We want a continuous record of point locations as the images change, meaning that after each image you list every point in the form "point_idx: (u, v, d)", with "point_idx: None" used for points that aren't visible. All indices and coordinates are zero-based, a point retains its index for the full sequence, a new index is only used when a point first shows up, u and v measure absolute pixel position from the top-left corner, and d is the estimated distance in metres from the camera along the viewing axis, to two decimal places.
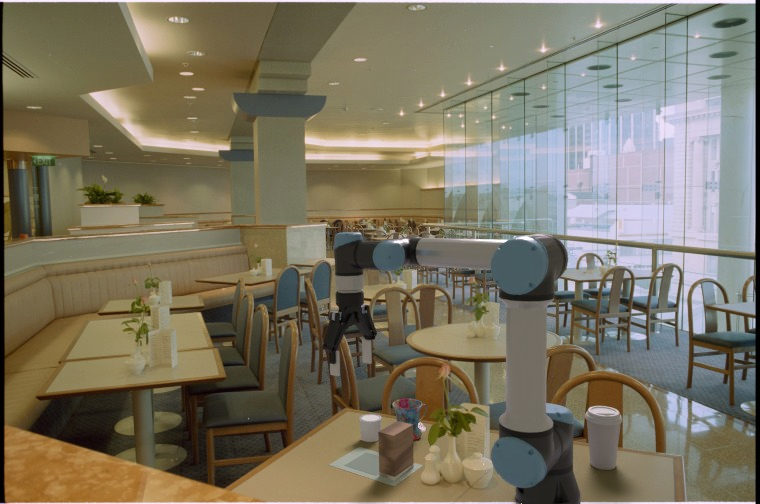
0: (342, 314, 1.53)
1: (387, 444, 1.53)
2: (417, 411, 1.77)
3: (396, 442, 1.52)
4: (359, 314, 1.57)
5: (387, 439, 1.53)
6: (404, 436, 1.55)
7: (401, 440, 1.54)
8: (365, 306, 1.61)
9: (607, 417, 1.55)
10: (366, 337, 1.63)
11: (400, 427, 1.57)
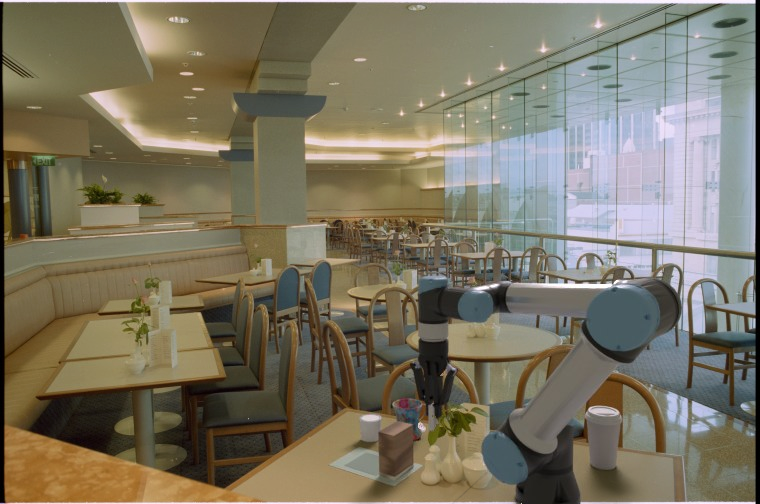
0: (418, 361, 1.49)
1: (387, 444, 1.53)
2: (417, 411, 1.77)
3: (396, 442, 1.52)
4: (434, 366, 1.45)
5: (387, 439, 1.53)
6: (404, 436, 1.55)
7: (401, 440, 1.54)
8: (451, 369, 1.44)
9: (607, 417, 1.55)
10: None
11: (400, 427, 1.57)
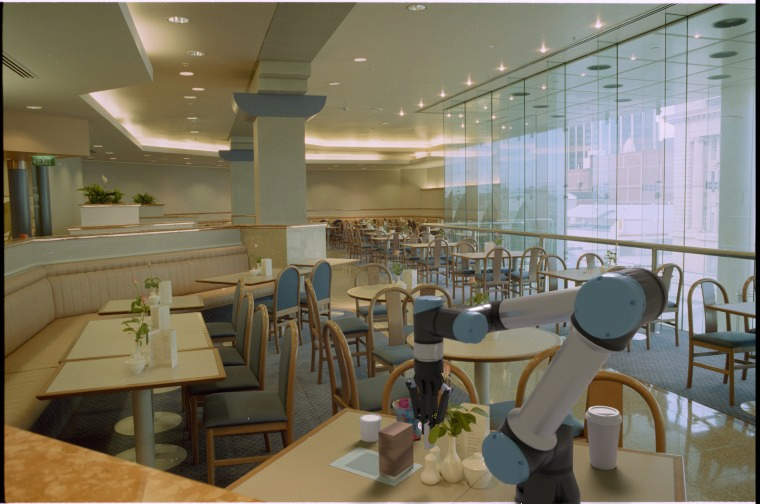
0: (414, 380, 1.51)
1: (387, 444, 1.53)
2: None
3: (396, 442, 1.52)
4: (429, 386, 1.47)
5: (387, 439, 1.53)
6: (404, 436, 1.55)
7: (401, 440, 1.54)
8: (446, 389, 1.45)
9: (607, 417, 1.55)
10: None
11: (400, 427, 1.57)
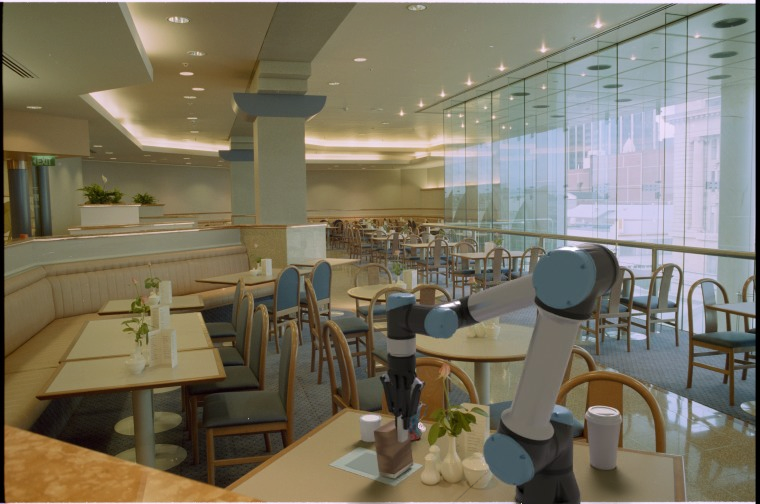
0: (387, 374, 1.56)
1: (383, 442, 1.54)
2: (417, 411, 1.77)
3: (392, 439, 1.53)
4: (402, 380, 1.52)
5: (382, 436, 1.54)
6: None
7: (397, 437, 1.55)
8: (418, 383, 1.50)
9: (607, 417, 1.55)
10: None
11: None
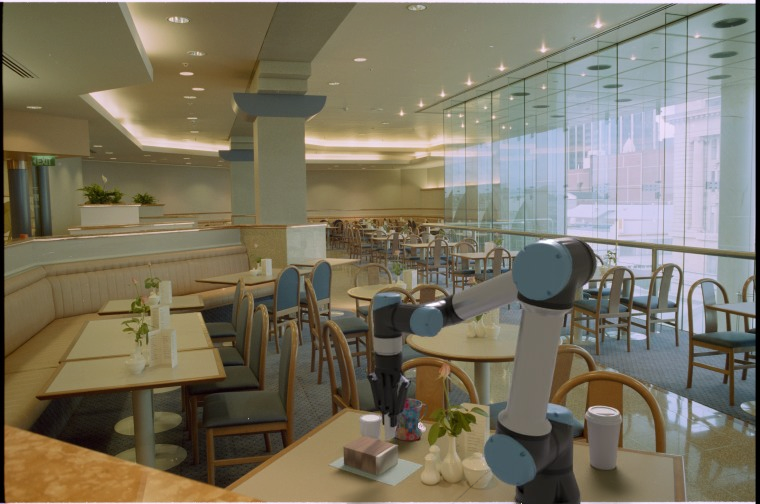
0: (375, 373, 1.58)
1: (351, 456, 1.60)
2: (417, 411, 1.77)
3: (352, 447, 1.62)
4: (388, 378, 1.54)
5: (347, 455, 1.61)
6: (359, 442, 1.65)
7: (358, 444, 1.63)
8: (404, 381, 1.53)
9: (607, 417, 1.55)
10: None
11: None
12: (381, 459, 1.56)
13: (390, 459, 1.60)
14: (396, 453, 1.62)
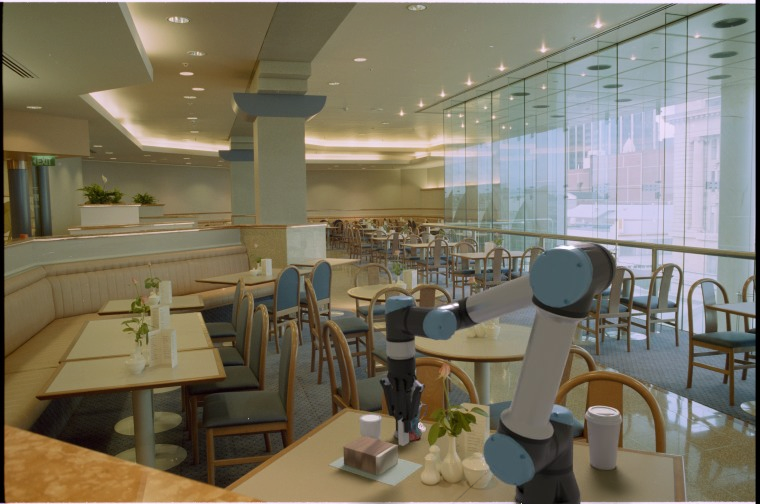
0: (387, 378, 1.56)
1: (351, 456, 1.60)
2: None
3: (352, 447, 1.62)
4: (402, 383, 1.52)
5: (347, 455, 1.61)
6: (359, 442, 1.65)
7: (358, 444, 1.63)
8: (418, 385, 1.50)
9: (607, 417, 1.55)
10: None
11: None
12: (381, 459, 1.56)
13: (390, 459, 1.60)
14: (396, 453, 1.62)
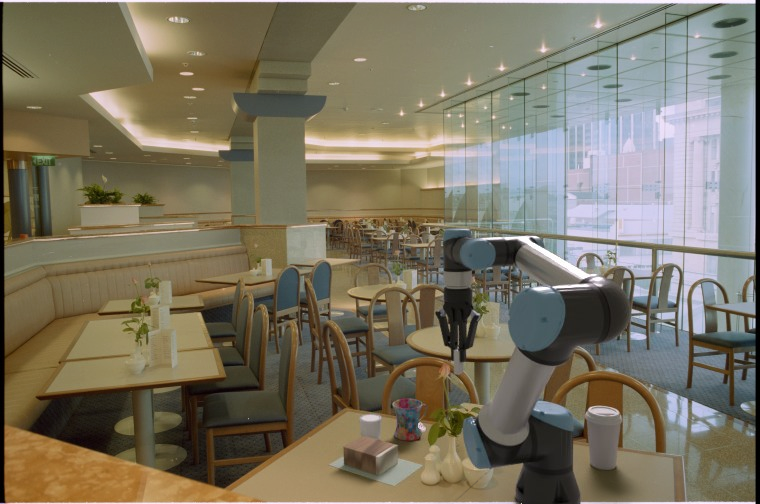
0: (443, 309, 1.59)
1: (351, 456, 1.60)
2: (417, 411, 1.77)
3: (352, 447, 1.62)
4: (459, 312, 1.55)
5: (347, 455, 1.61)
6: (359, 442, 1.65)
7: (358, 444, 1.63)
8: (475, 314, 1.54)
9: (607, 417, 1.55)
10: None
11: None
12: (381, 459, 1.56)
13: (390, 459, 1.60)
14: (396, 453, 1.62)
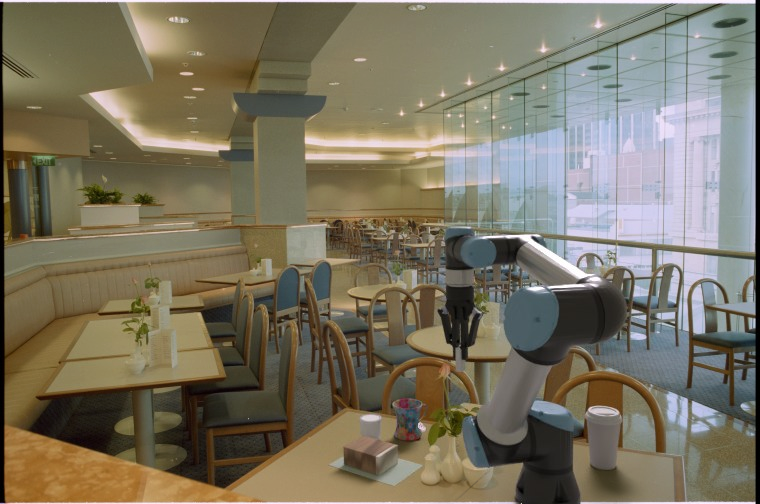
0: (445, 307, 1.60)
1: (351, 456, 1.60)
2: (417, 411, 1.77)
3: (352, 447, 1.62)
4: (461, 310, 1.56)
5: (347, 455, 1.61)
6: (359, 442, 1.65)
7: (358, 444, 1.63)
8: (477, 312, 1.54)
9: (607, 417, 1.55)
10: None
11: None
12: (381, 459, 1.56)
13: (390, 459, 1.60)
14: (396, 453, 1.62)
